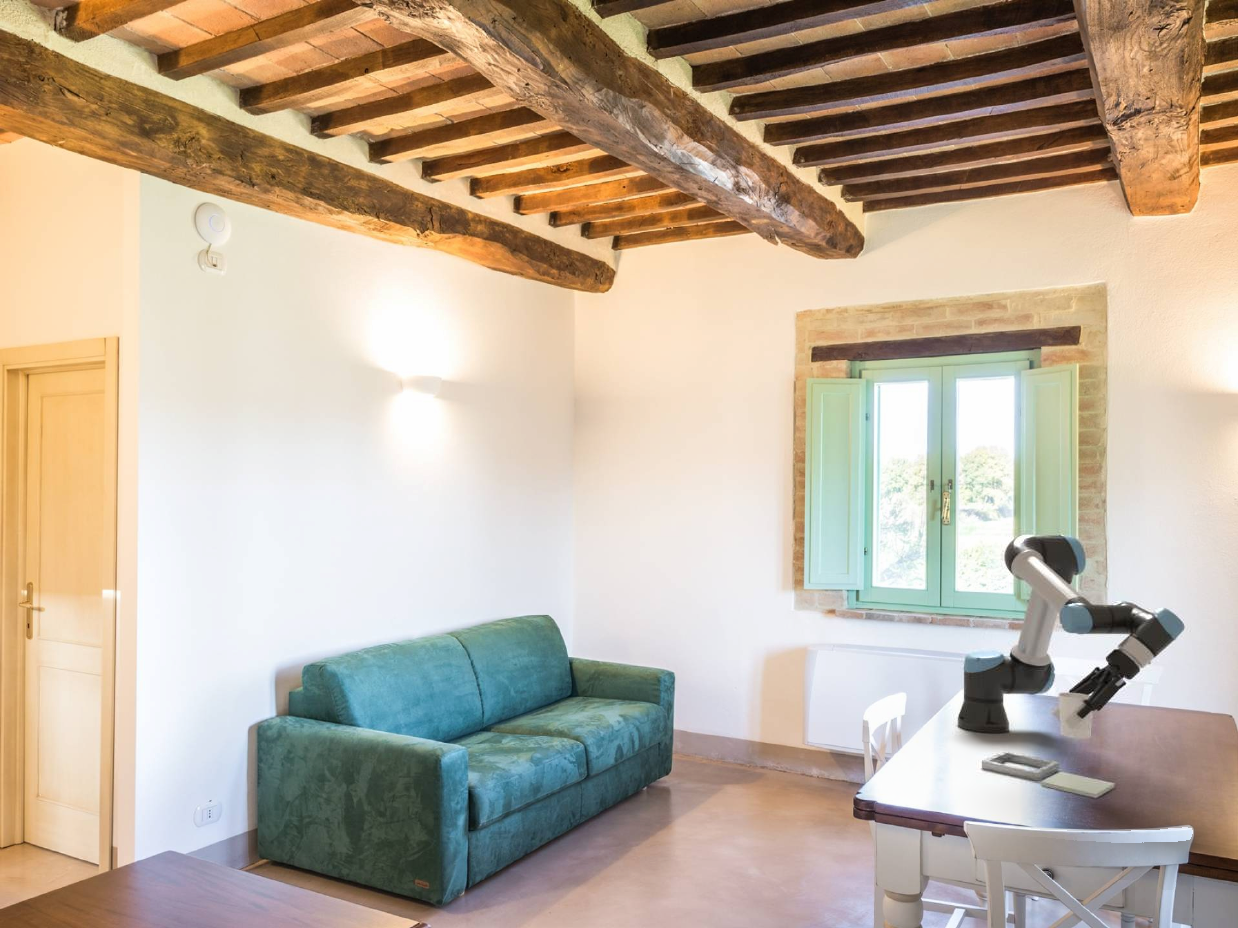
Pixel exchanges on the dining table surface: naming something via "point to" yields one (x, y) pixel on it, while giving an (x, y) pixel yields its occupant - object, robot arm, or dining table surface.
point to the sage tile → (1078, 784)
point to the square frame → (1038, 774)
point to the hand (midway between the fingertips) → (1061, 720)
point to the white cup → (1066, 707)
